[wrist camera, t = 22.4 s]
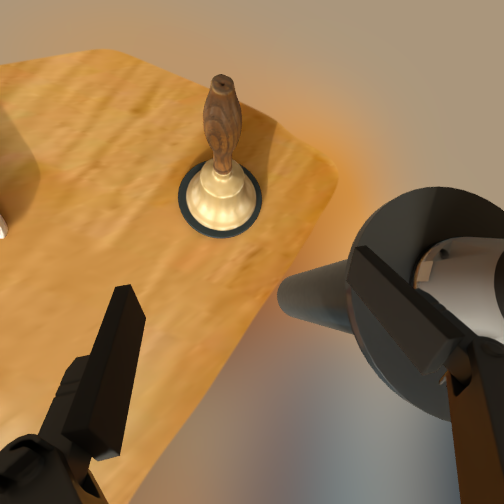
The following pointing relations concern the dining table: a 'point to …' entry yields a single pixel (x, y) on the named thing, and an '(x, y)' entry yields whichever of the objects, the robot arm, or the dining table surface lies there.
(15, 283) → the dining table surface
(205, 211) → the hand bell
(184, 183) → the corner coaster
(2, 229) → the pen
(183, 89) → the dining table surface
